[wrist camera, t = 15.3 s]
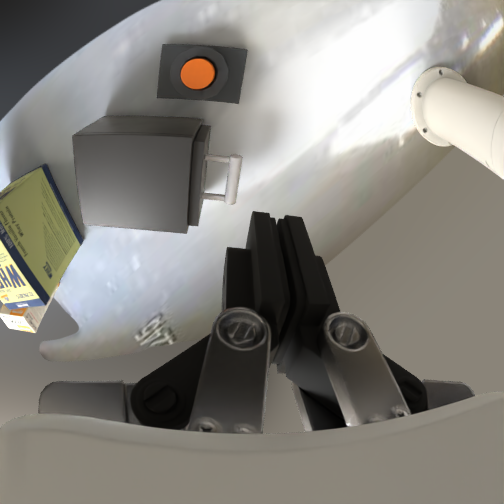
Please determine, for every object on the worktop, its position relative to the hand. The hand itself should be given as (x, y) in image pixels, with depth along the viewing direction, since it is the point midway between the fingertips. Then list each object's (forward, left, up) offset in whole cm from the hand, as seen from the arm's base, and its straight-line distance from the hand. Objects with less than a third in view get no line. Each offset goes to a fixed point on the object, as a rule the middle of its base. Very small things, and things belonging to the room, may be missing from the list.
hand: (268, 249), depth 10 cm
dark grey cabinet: (+12, +8, -29) cm, 32 cm away
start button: (+6, -4, -26) cm, 27 cm away
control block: (+6, -4, -29) cm, 30 cm away
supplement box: (+38, +34, -29) cm, 59 cm away
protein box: (+32, +18, -29) cm, 47 cm away
